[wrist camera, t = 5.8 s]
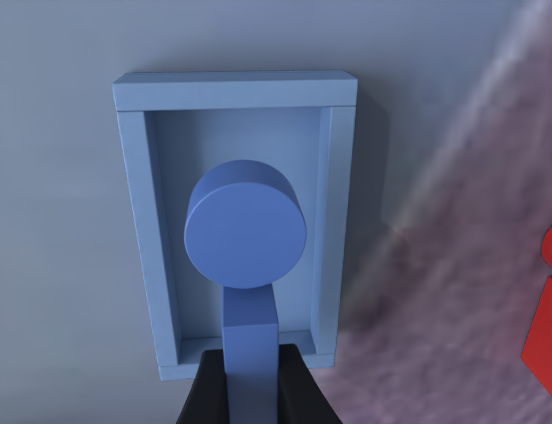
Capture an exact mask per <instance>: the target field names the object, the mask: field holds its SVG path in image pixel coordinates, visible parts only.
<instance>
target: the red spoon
mask: <svg viewBox="0 0 552 424" xmlns="http://www.w3.org/2000/svg"><path fill="white" fill-rule="evenodd" d="M541 253H542V257H543V259H544V261H545V262H546V263H547V264H548V265H549V266H550V267H552V226H551V228H550V229H549V230H548V232H547V233H546V235H545V237H544V239H543V242H542V247H541ZM521 360H522V361H523V362H524V363H525V365H526V366H527V367H528V368H529V370H530V371H531V372H532V373H533V374H534V376H535V377H536V378H537V379H538V380H539V382H540V383H541V384H542V385H543V387H544V388H545V389H546V390H547V391H548V393H549V394H550V395H551V396H552V276H550V277H548V278H547V281H546V284H545V287H544V290H543V293H542V296H541V299H540V302H539V304H538V307H537V310H536V313H535V316H534V319H533V322H532V325H531V328H530V331H529V334H528V337H527V340H526V343H525V346H524V348H523V351H522V354H521Z"/></svg>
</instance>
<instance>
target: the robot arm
mask: <svg viewBox="0 0 552 424" xmlns="http://www.w3.org/2000/svg"><path fill="white" fill-rule="evenodd" d="M176 424H229V415H228V401H227V386H226V373H225V367H224V353H223V349H213V350H205V351H204V352H203V353H202V355H201V360H200V364H199V367H198V370H197V374H196V376H195V379H194V382H193V385H192V388H191V390H190V393H189V395H188V397H187V400H186V402H185V405H184V407H183V409H182V412H181V414H180V416H179V418H178V420H177V422H176ZM278 424H343V423H342V422H341V420H340V419H339V418H338V416H337V415H336V413H335V412H334V410H333V409H332V407H331V406H330V405H329V403H328V401H327V400H326V398H325V397H324V395H323V394H322V392H321V390H320V389H319V387H318V386H317V384H316V382H315V381H314V379H313V377H312V375H311V373H310V372H309V370H308V368H307V366H306V364H305V362H304V360H303V358H302V356H301V354H300V352H299V349H298V347H297V345H295V344H294V343H290V344H279V368H278Z"/></svg>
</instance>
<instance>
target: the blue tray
mask: <svg viewBox="0 0 552 424" xmlns="http://www.w3.org/2000/svg"><path fill="white" fill-rule="evenodd" d="M112 89H113V95H114V101H115V107H116V111H117V119H118V125H119V131H120V137H121V143H122V149H123V156H124V162H125V168H126V174H127V180H128V186H129V192H130V198H131V204H132V210H133V216H134V222H135V229H136V235H137V241H138V247H139V253H140V259H141V265H142V271H143V277H144V283H145V289H146V296H147V302H148V308H149V314H150V320H151V326H152V332H153V338H154V344H155V350H156V356H157V362H158V366H159V373H160V379H161V381H169V380H181V379H193V378H195V376H196V374H197V370H198V367H199V364H200V360H201V355H202V353H203V352H204V351H205V350H213V349H223V339H222V285H220V284H218V283H216V282H213V281H212V280H210V279H208V278H207V277H205V276H204V275H203V274H202V273H200V272H199V270H198V269H197V268H196V267H195V266H194V265H193V263H192V262H191V260H190V258H189V256H188V254H187V251H186V248H185V243H184V231H185V224H186V218H187V212H188V207H189V201H190V197H191V194H192V192H193V189H194V187H195V186H196V184H197V183H198V181H199V180H200V179H201V178H202V177H203V176H204V175H205V174H206V173H207V172H208V171H210V170H211V169H213V168H214V167H216V166H218V165H220V164H223V163H226V162H230V161H234V160H254V161H259V162H262V163H265V164H268V165H270V166H272V167H274V168H275V169H277V170H278V171H279V172H281V173H282V174H283V175H284V176H285V177H286V178H287V179H288V181H289V182H290V183H291V185H292V187H293V189H294V191H295V194H296V197H297V199H298V202H299V205H300V208H301V210H302V213H303V216H304V219H305V222H306V227H307V238H306V244H305V248H304V251H303V253H302V255H301V257H300V259H299V260H298V262H297V263H296V265H295V266H294V267H293V268H292V269H291V270H290V271H289V272H288V273H287V274H286V275H284V276H283V277H281V278H280V279H278V280H277V281H274V282H272V285H273V291H274V297H275V303H276V309H277V315H278V321H279V344H290V343H294V344H295V345H297V347H298V349H299V352H300V354H301V356H302V358H303V360H304V362H305V364H306V366H307V368H308V369H313V368H325V367H333V366H334V363H335V352H336V343H337V331H338V319H339V307H340V295H341V283H342V271H343V259H344V247H345V235H346V223H347V211H348V199H349V187H350V175H351V163H352V152H353V140H354V128H355V116H356V106H355V105H356V103H357V91H358V79H357V78H355V77H353V76H352V75H350V74H348V73H347V72H345V71H343V70H301V71H234V72H167V73H126V74H124V75H123V76H122V77H120V78H119V79H118V80H116V81H115V82H114V83H112Z"/></svg>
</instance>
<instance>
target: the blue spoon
mask: <svg viewBox="0 0 552 424" xmlns="http://www.w3.org/2000/svg"><path fill="white" fill-rule="evenodd" d="M306 238H307V227H306V222H305V219H304V216H303V213H302V210H301V208H300V205H299V202H298V199H297V197H296V194H295V191H294V189H293V187H292V185H291V183H290V182H289V181H288V179H287V178H286V177H285V176H284V175H283V174H282V173H281V172H279V171H278V170H277V169H275V168H274V167H272V166H270V165H268V164H265V163H262V162H259V161H254V160H234V161H230V162H226V163H223V164H220V165H218V166H216V167H214V168H213V169H211V170H210V171H208V172H207V173H206V174H205V175H204V176H203V177H202V178H201V179H200V180H199V181H198V183H197V184H196V186H195V187H194V189H193V192H192V194H191V197H190V201H189V207H188V212H187V218H186V224H185V231H184V243H185V248H186V251H187V254H188V256H189V258H190V260H191V262H192V263H193V265H194V266H195V267H196V268H197V269H198V270H199V272H200V273H202V274H203V275H204V276H205V277H207V278H208V279H210V280H212V281H213V282H216V283H218V284H220V285H222V339H223V353H224V367H225V373H226V386H227V401H228V415H229V424H278V368H279V321H278V315H277V309H276V303H275V297H274V291H273V285H272V282H274V281H277V280H278V279H280V278H281V277H283V276H284V275H286V274H287V273H288V272H289V271H290V270H291V269H292V268H293V267H294V266H295V265H296V263H297V262H298V260H299V259H300V257H301V255H302V253H303V251H304V248H305V244H306Z"/></svg>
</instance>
